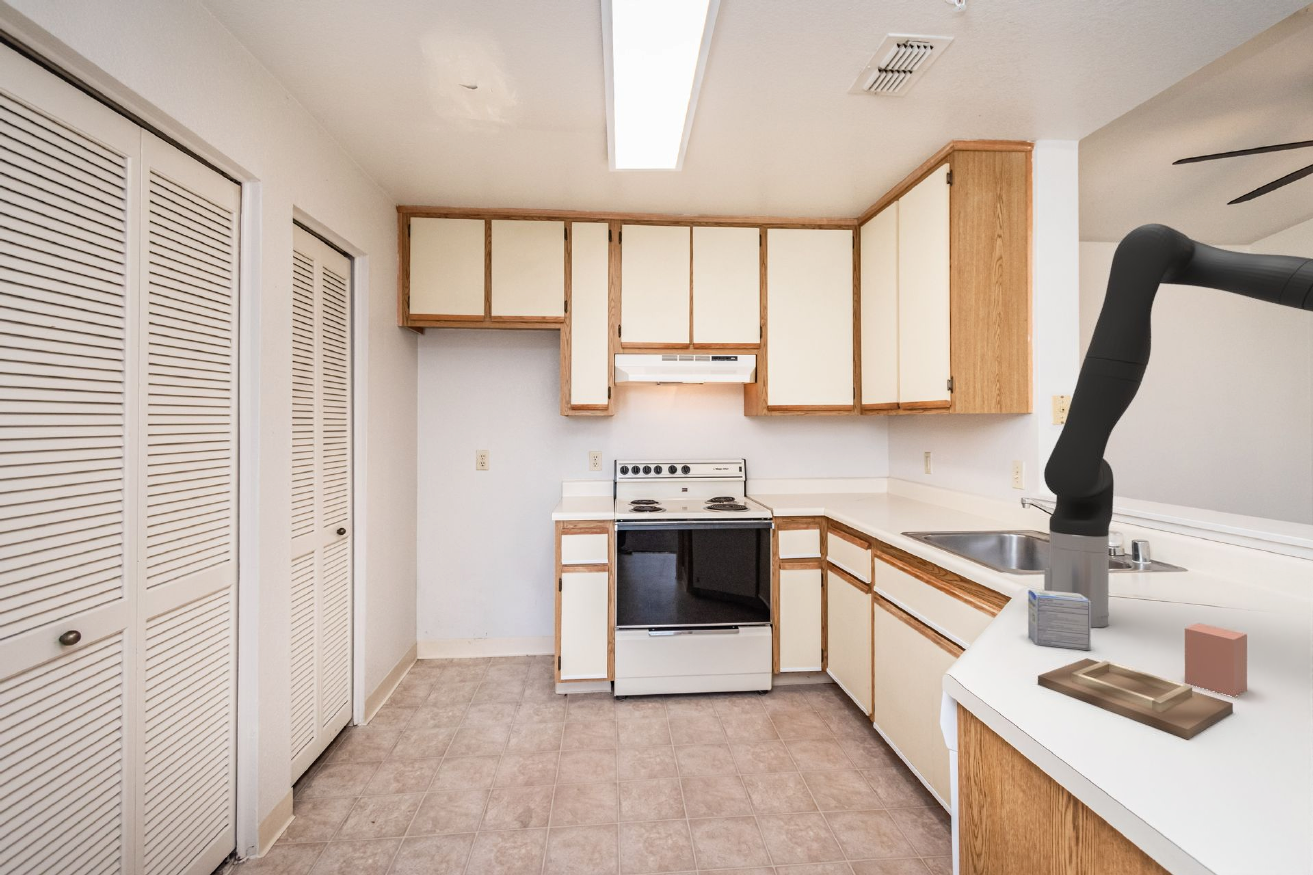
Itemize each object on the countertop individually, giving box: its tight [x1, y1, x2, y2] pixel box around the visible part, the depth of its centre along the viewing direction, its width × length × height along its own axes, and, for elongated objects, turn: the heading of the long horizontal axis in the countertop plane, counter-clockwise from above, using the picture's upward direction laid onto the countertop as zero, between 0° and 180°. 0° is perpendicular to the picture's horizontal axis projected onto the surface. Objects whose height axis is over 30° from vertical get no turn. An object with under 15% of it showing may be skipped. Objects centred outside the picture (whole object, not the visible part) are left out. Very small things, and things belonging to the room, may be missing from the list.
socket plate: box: [1037, 658, 1234, 741], centre depth 73 cm, size 16×14×2 cm
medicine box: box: [1027, 589, 1092, 651], centre depth 92 cm, size 8×4×9 cm, turn 71°
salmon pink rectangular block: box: [1184, 623, 1248, 698], centre depth 76 cm, size 5×5×8 cm
